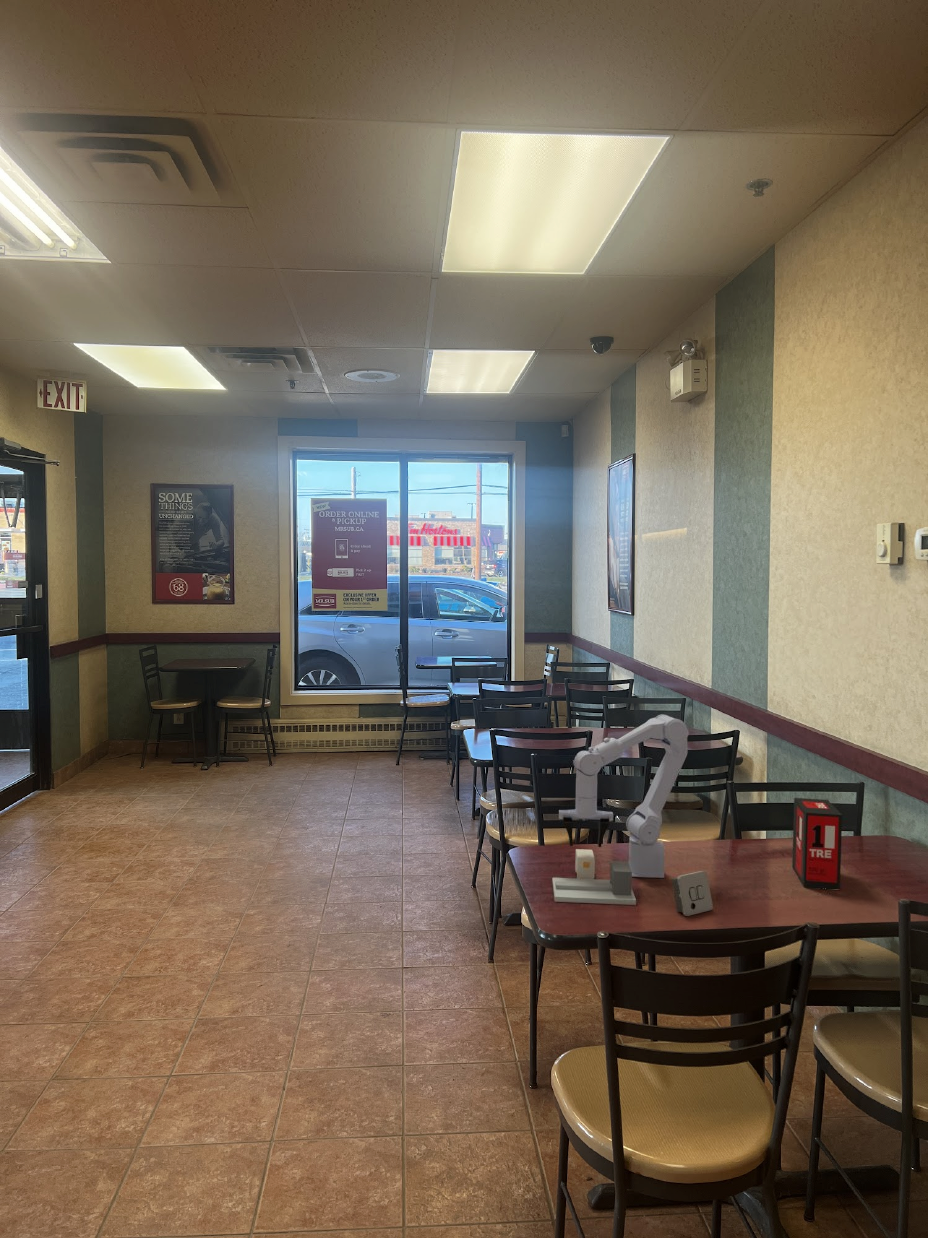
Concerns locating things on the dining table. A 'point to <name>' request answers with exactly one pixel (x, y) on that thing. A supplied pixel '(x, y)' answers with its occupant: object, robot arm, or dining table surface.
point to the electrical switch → (692, 893)
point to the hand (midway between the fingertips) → (585, 845)
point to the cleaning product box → (817, 843)
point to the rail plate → (598, 887)
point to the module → (585, 864)
